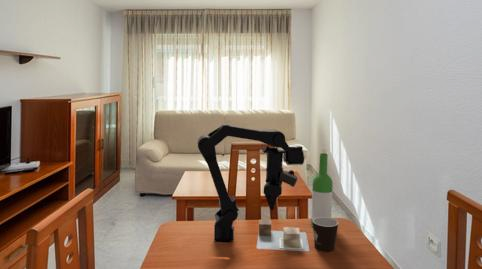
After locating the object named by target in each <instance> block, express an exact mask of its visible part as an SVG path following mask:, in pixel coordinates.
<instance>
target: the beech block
mask: <svg viewBox="0 0 482 269" xmlns="http://www.w3.org/2000/svg"><path fill="white" fill-rule="evenodd" d="M282 231H283V247H292V248H299V247H300V232H301V231H300V228H299V227H290V226H289V227H287V226H285V227H284V226H283V230H282Z"/></svg>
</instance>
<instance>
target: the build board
mask: <svg viewBox="0 0 482 269" xmlns="http://www.w3.org/2000/svg"><path fill="white" fill-rule="evenodd" d="M257 233H258V234H257V240H256V249H257V250H258V249H259V250H274V251H275V250H276V251H278V250H279V251H291V252H292V251H294V252H311V251H310V248H309V242H308V237H307V232H305V231H300V247H299V248H292V247H283V230H271V236H259V232H257Z"/></svg>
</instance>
